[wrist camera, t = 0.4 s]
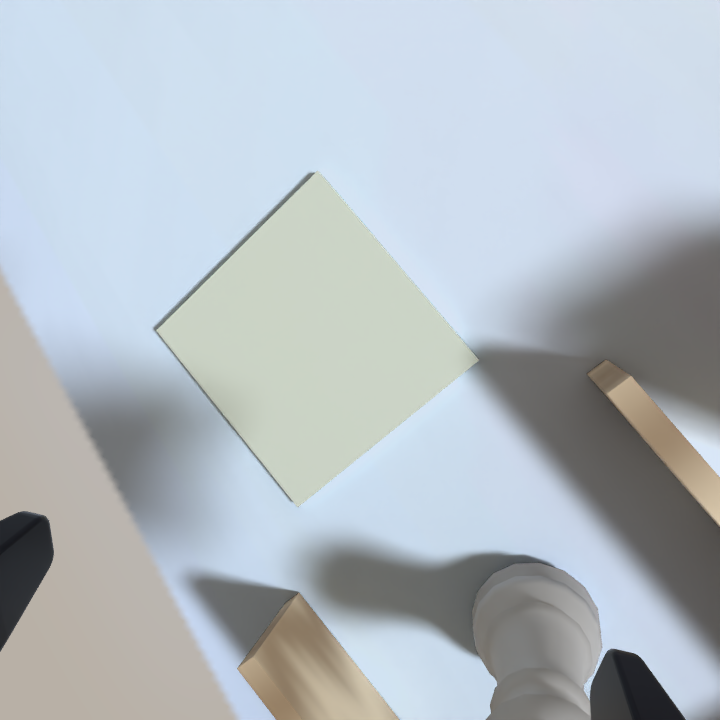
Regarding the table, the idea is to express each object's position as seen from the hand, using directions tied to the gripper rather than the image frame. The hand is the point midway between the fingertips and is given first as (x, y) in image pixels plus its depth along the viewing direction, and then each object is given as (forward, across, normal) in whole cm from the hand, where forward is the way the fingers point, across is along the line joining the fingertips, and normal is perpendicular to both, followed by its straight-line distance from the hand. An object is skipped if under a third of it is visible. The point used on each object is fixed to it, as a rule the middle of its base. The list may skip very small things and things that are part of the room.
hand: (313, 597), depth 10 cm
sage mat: (+14, +3, +3) cm, 14 cm away
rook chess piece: (+10, -7, +10) cm, 16 cm away
